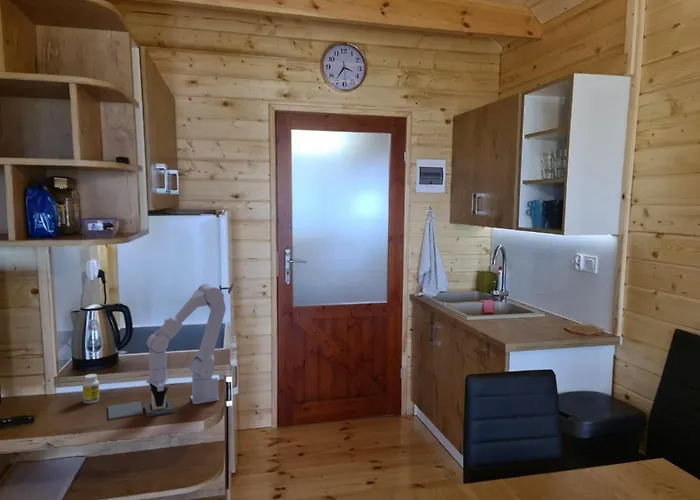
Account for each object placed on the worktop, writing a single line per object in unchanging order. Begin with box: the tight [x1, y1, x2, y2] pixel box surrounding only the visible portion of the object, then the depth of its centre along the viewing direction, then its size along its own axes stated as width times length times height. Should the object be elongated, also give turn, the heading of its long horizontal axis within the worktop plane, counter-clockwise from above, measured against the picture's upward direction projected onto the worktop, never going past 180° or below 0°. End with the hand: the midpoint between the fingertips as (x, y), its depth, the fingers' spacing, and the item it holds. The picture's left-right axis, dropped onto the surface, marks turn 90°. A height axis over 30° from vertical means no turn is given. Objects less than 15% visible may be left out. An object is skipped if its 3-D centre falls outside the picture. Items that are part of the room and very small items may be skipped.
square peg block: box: [150, 390, 167, 410], centre depth 180 cm, size 4×4×7 cm
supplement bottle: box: [82, 373, 100, 404], centre depth 186 cm, size 5×5×10 cm
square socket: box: [144, 398, 175, 418], centre depth 180 cm, size 9×9×2 cm
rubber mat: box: [107, 400, 144, 421], centre depth 179 cm, size 11×11×1 cm
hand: (158, 403), depth 180 cm, fingers closed on square peg block, 4 cm apart
